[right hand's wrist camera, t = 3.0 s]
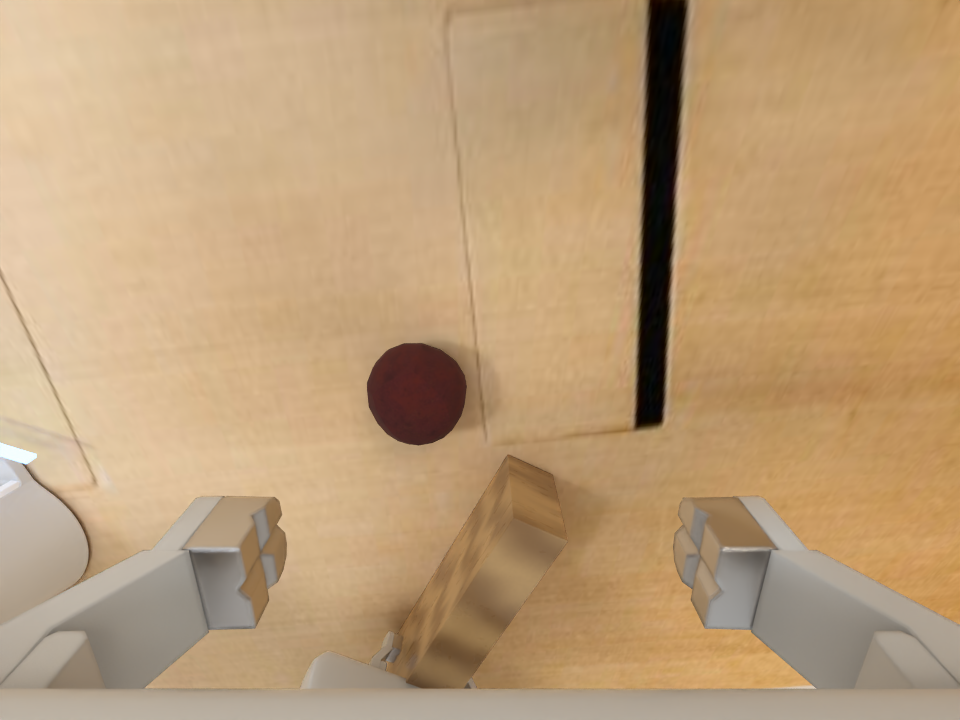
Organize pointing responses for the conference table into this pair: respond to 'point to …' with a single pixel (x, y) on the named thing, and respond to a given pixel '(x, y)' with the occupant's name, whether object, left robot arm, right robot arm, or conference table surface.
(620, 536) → the conference table surface
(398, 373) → the dark red ball
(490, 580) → the bar
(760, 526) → the right robot arm
